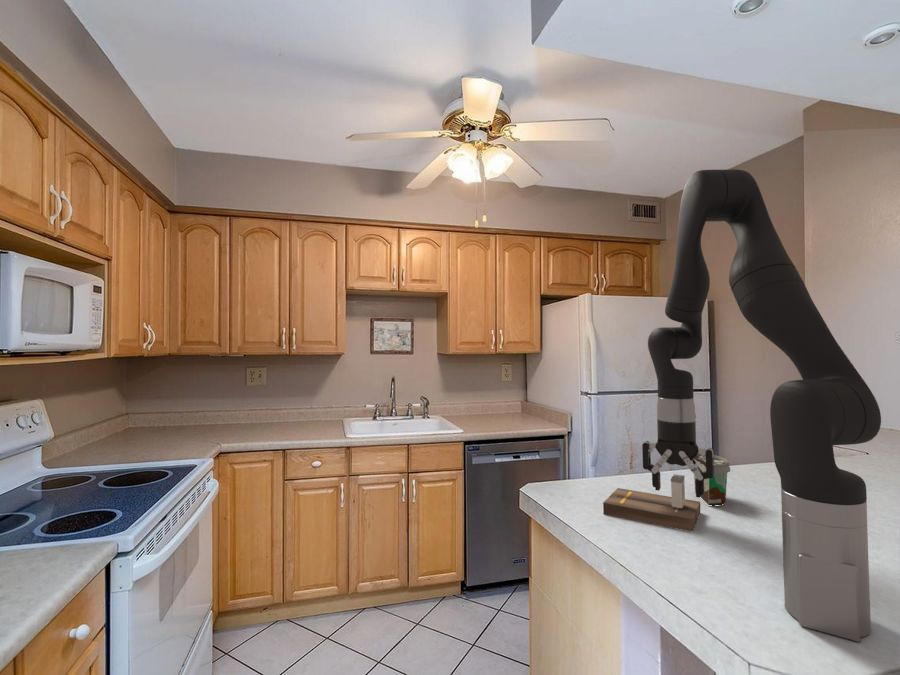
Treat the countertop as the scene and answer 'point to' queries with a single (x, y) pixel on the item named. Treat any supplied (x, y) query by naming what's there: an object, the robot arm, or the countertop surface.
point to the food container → (714, 480)
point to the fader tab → (678, 491)
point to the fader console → (652, 509)
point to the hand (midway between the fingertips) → (677, 492)
